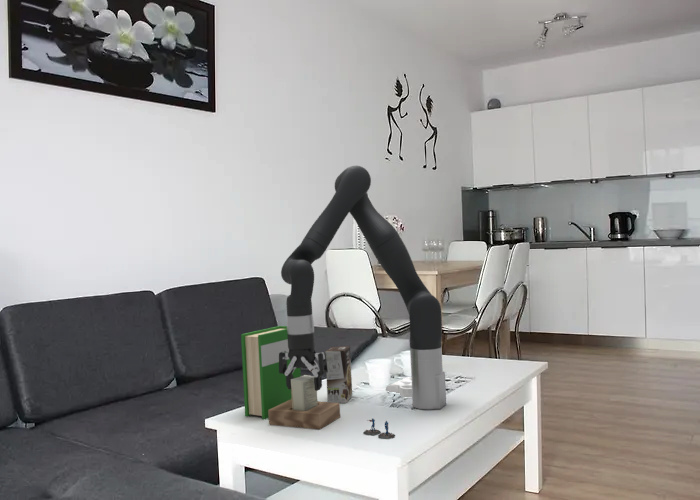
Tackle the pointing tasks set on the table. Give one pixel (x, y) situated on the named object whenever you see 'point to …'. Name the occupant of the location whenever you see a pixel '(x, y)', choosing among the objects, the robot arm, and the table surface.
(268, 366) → the hardback book
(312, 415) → the walnut holder block
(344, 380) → the coffee box
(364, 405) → the table surface
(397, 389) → the white brass knuckles
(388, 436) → the figurines
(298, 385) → the skincare box
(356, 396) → the table surface
